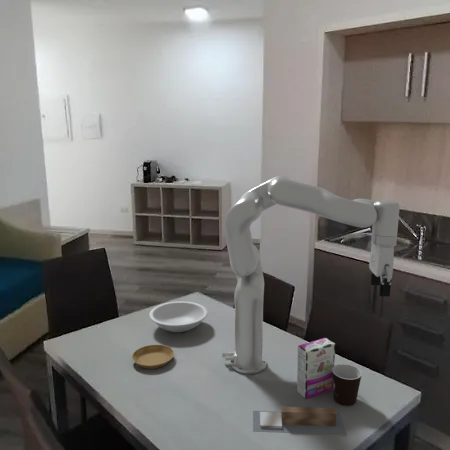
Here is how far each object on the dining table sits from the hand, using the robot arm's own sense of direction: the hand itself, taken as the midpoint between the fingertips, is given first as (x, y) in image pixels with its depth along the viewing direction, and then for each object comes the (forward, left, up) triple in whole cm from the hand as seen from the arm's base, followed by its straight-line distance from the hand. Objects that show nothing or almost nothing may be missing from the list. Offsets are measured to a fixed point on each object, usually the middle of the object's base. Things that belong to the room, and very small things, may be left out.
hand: (379, 290), depth 146 cm
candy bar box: (-21, -12, -30) cm, 39 cm away
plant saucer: (-76, +4, -30) cm, 82 cm away
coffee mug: (-12, -15, -30) cm, 36 cm away
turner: (-29, -28, -29) cm, 50 cm away
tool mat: (-28, -28, -30) cm, 50 cm away
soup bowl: (-71, +31, -30) cm, 83 cm away
